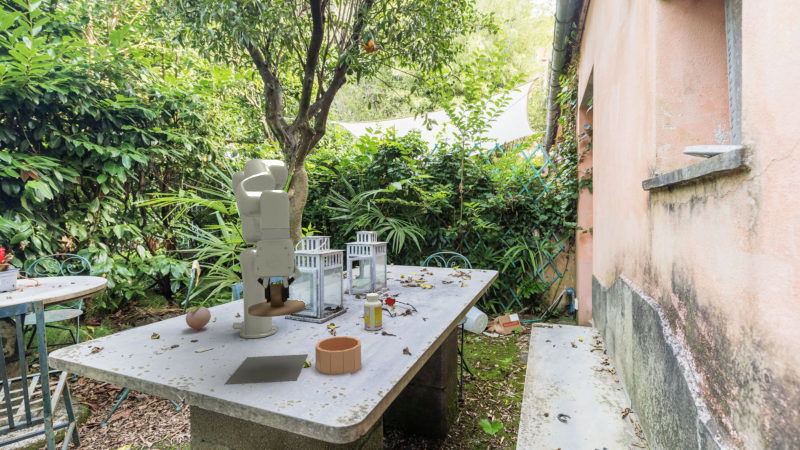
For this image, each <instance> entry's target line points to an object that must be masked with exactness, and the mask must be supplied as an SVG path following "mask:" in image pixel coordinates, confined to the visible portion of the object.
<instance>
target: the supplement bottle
mask: <svg viewBox="0 0 800 450" xmlns="http://www.w3.org/2000/svg"><path fill="white" fill-rule="evenodd" d="M379 295H380V294H379V293H376V292H375V293H373V292H371V293H367V294H366V295H365V296H366V297H365V298H366V301H364V303H363V314H364V315H363V316H364V317H363V320H364V321H363V323H364V324H363V325H364V329H365V330H367V331H370V332H371V331H379V330H381V329H382V328H383V306H382V303H383V302H382V303H381V301H379V300H378V299H380V298H379V297H380V296H379Z"/></svg>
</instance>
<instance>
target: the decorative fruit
mask: <svg viewBox="0 0 800 450" xmlns="http://www.w3.org/2000/svg"><path fill="white" fill-rule="evenodd" d="M211 317H212V314H211V311H210V310H209V309H208V308H207V307H205V306H203V305H199V304H198V303H196V306H194V307H192V308H191V309H189V311H188V312H187V314H186V316H185V323H186V324H187V326H188V327H189V328H190V329H192V330H195V331H200V330H201V329H202V328H204V327H205V326H207V324H208V323H210V320H211Z"/></svg>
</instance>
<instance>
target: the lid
mask: <svg viewBox="0 0 800 450" xmlns="http://www.w3.org/2000/svg"><path fill="white" fill-rule="evenodd" d="M283 285H284V284H283V283H282V282H278V283H277V282H275V283H270V302H269V303H267V302H262V303H258V304H255V305H252V306H250V307H249V308H248V313H249V314H250V315H252V316H258V317H272V318H274V317H275V318H276V317H282V316H283V317H284V316H289V315H293V314H296V313H297V314H298V313H300V312H302V311H304V310H305V309H306V308H305V307H306V306H305V303H304V302H303V301H298V300H289V299H288V300H287V301H286V302H282V288H283Z"/></svg>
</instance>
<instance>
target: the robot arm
mask: <svg viewBox="0 0 800 450" xmlns="http://www.w3.org/2000/svg"><path fill="white" fill-rule="evenodd" d="M287 166H288V165H287V164H286V162H284V161H283V160H281V159H274V158H273V159H271V158H251V159H248V160H247V161H246V162H245V163H244V165H243V170H239V171H235V172H234V173H233V175H232V176H231V177H232V178H231V187H232V191H233V194H234V195H233V196H234V198H235V200H236V202H235V203H236V206H237V209H238V212H239V214H240V224H241V234H242V235H241V236H242V239H243V241H244V243H246V244H249V245H256V246H253V247H252V246H251V247H246V248H245V249H243V250H242V251H241V252H240V253H239V260H238V261H239V265H240V271H241V277H242V292H243V296H242V299H243V321H242V322H233V323H232V329H233V330H240V331H239V336H240V337H241V338H245V339H261V338H264V337H269V336H272V335H273V334H275V333H276V332H277V329H278V328H277V327H276V326H275V325H273V317H258V316H252V315H250V314H249V313H248V308H249V307H250V306H252V305H255V304H258V303H262V302H267V303H269V302H270V284H271V280H272V278H282V282H283V284H284V285H283V288H282V302H286V301H287V300H289V299H290V286H291V285H292V284H293V283H294V282H295V281H296V280H298V279H300V278H301V276H302V275H303V274H302V272H301V271H300V269H299V268H298V266H297V262H296V253H295V252H296V251H295V247H294V242H293V239H291V236H290V235H291V233H290V207H291V203H290V202H291V201H290V196H289V193H288V192H287V191H286V190H283V188H284V187H285V185H286V183H287V181H288V179H289V168H288V167H287ZM293 274H294V275H293ZM292 275H293V276H292ZM290 276H291V277H290Z"/></svg>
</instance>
